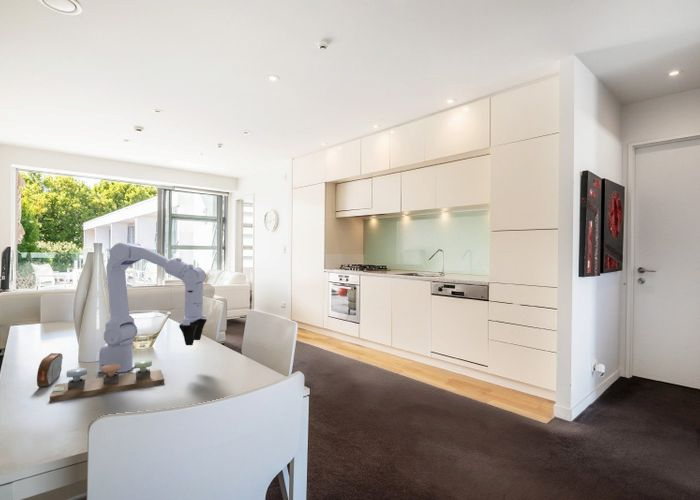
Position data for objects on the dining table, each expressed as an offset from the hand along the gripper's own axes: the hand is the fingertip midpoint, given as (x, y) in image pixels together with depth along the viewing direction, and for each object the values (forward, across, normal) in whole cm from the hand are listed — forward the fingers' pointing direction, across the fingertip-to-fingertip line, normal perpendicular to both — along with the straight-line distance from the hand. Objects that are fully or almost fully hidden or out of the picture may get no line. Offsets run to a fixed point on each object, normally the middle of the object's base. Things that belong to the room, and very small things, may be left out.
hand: (193, 342), depth 129 cm
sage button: (+7, -10, +12) cm, 17 cm away
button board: (+10, -14, +19) cm, 26 cm away
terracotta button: (+7, -14, +19) cm, 25 cm away
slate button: (+7, -18, +27) cm, 33 cm away
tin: (+10, -9, +40) cm, 43 cm away
